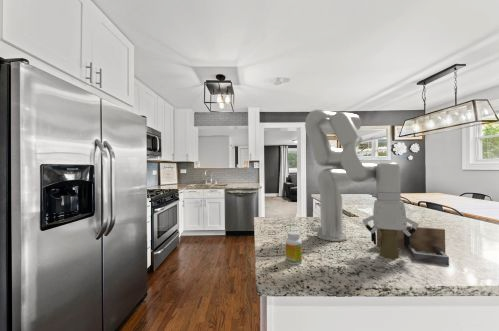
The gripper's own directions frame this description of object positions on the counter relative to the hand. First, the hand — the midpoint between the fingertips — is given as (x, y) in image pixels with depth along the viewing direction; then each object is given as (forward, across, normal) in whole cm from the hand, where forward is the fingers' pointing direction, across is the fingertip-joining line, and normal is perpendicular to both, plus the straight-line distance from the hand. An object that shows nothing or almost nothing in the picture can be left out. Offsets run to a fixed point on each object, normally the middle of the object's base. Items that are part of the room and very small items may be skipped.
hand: (389, 245), depth 85 cm
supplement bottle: (+4, -30, -19) cm, 36 cm away
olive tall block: (+4, 0, 0) cm, 4 cm away
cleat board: (+4, +8, +5) cm, 10 cm away
